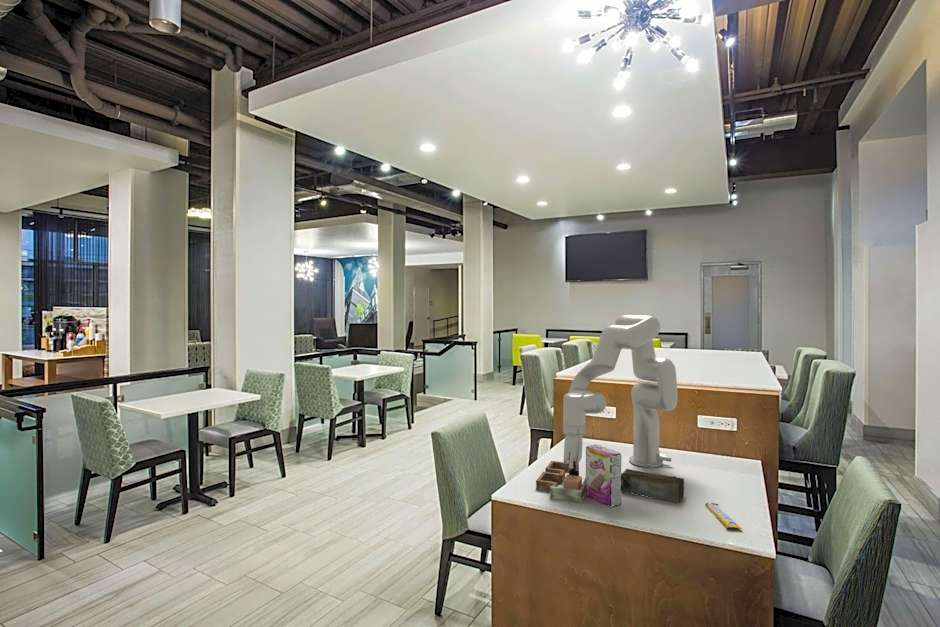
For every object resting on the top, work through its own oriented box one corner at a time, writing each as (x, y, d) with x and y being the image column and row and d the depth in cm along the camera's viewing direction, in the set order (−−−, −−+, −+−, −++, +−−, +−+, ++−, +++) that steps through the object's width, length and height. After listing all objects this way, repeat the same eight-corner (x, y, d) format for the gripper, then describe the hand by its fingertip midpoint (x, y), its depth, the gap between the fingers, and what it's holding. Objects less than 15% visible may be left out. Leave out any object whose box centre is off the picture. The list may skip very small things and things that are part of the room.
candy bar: (703, 507, 155) (703, 501, 155) (717, 507, 154) (717, 501, 154) (726, 532, 138) (726, 525, 138) (742, 533, 137) (742, 526, 137)
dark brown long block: (625, 484, 173) (626, 465, 173) (685, 496, 162) (685, 476, 162) (619, 492, 166) (619, 472, 166) (680, 505, 156) (680, 484, 156)
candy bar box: (584, 495, 162) (584, 446, 162) (595, 492, 165) (595, 443, 165) (610, 507, 153) (611, 455, 153) (621, 504, 156) (622, 452, 155)
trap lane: (598, 465, 192) (598, 456, 192) (581, 502, 157) (581, 491, 157) (557, 460, 198) (557, 451, 198) (531, 495, 163) (532, 484, 163)
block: (581, 488, 169) (581, 476, 169) (578, 494, 164) (578, 482, 163) (567, 485, 171) (567, 474, 171) (563, 492, 166) (563, 480, 165)
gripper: (567, 423, 180) (567, 473, 181) (558, 433, 166) (558, 487, 167) (588, 425, 177) (588, 476, 178) (581, 435, 163) (580, 490, 164)
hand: (573, 481), depth 172 cm, fingers closed
